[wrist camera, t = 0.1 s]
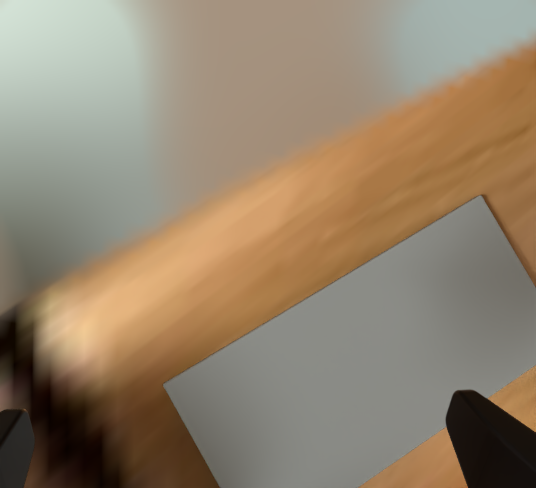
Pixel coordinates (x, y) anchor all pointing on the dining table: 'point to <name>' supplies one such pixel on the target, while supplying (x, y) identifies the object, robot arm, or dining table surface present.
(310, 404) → the slate mat
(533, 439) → the robot arm
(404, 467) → the dining table surface
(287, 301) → the dining table surface
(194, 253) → the dining table surface
